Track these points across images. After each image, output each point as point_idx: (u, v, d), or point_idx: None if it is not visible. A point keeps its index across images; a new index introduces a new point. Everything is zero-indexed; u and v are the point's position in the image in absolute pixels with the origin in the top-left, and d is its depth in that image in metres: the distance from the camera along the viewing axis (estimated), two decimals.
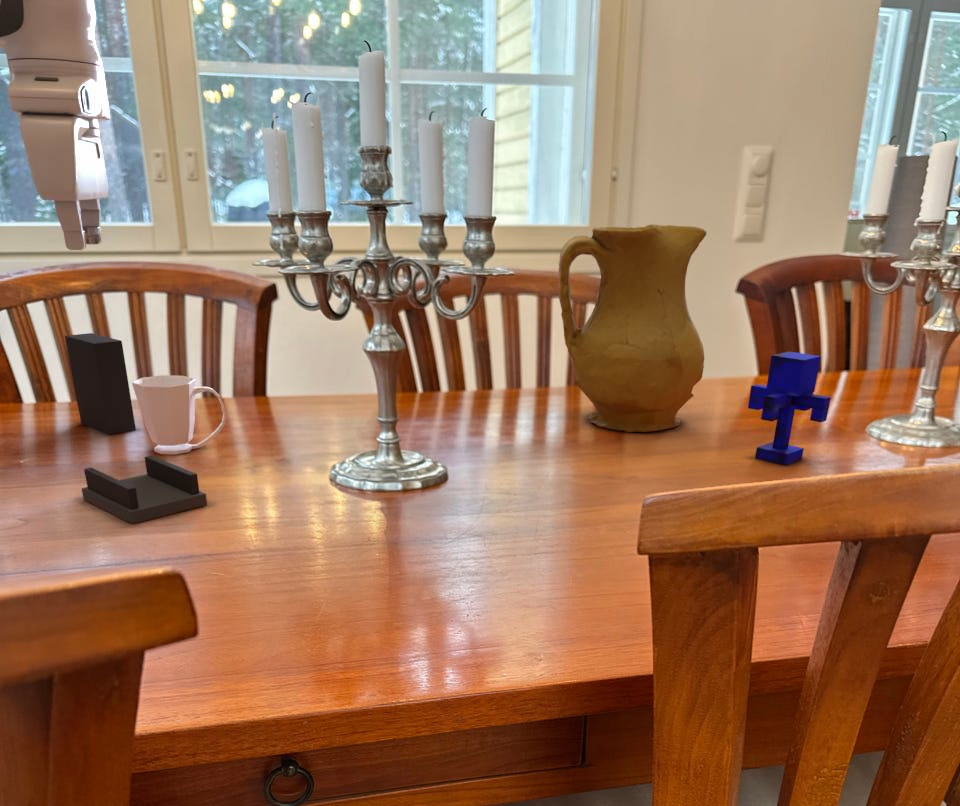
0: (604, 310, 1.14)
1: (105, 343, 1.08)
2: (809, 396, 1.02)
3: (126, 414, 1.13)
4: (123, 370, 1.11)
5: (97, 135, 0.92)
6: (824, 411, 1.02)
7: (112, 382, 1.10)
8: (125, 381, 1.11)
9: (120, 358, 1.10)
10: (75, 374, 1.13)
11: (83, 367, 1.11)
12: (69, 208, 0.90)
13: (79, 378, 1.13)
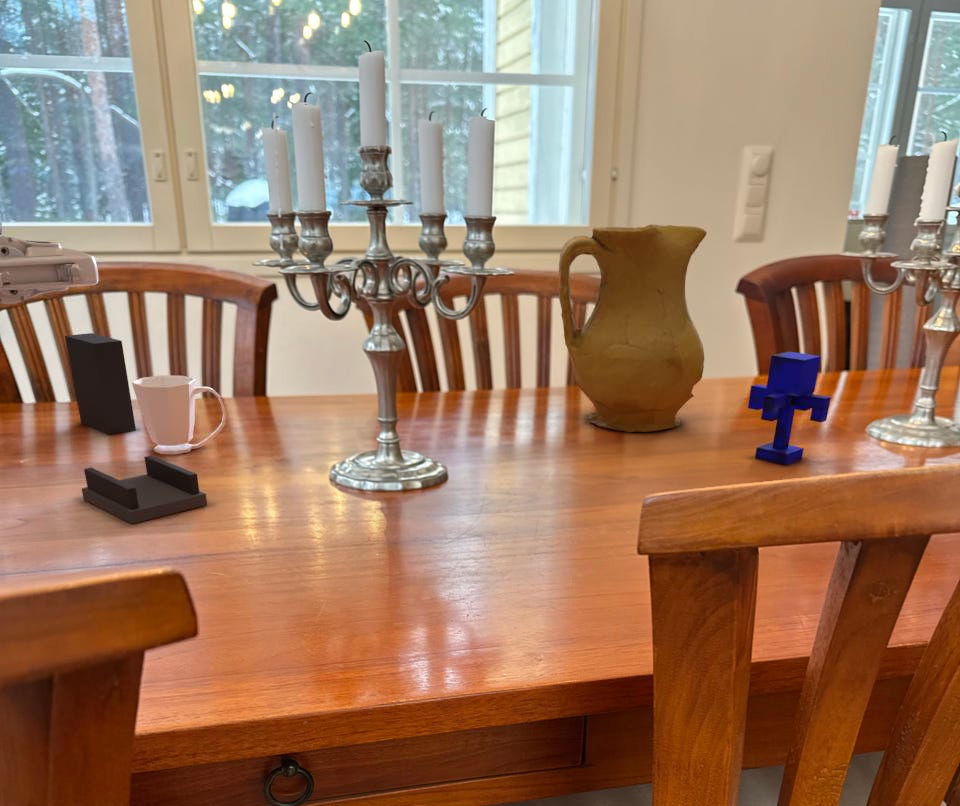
0: (604, 310, 1.14)
1: (105, 343, 1.08)
2: (809, 396, 1.02)
3: (126, 414, 1.13)
4: (123, 370, 1.11)
5: (19, 294, 1.24)
6: (824, 411, 1.02)
7: (112, 382, 1.10)
8: (125, 381, 1.11)
9: (120, 358, 1.10)
10: (75, 374, 1.13)
11: (83, 367, 1.11)
12: None
13: (79, 378, 1.13)
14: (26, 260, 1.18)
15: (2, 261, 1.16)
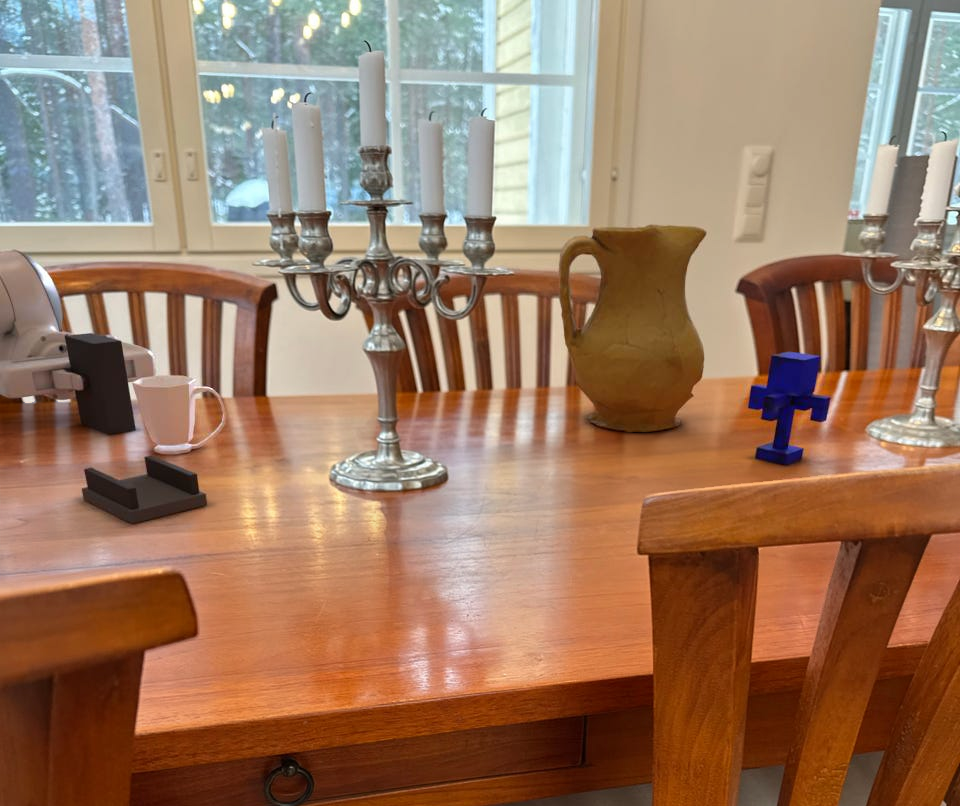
0: (604, 310, 1.14)
1: (105, 343, 1.08)
2: (809, 396, 1.02)
3: (126, 414, 1.13)
4: (123, 370, 1.11)
5: None
6: (824, 411, 1.02)
7: (111, 382, 1.10)
8: (125, 381, 1.11)
9: (120, 358, 1.10)
10: None
11: (83, 367, 1.11)
12: None
13: None
14: None
15: (62, 363, 1.13)
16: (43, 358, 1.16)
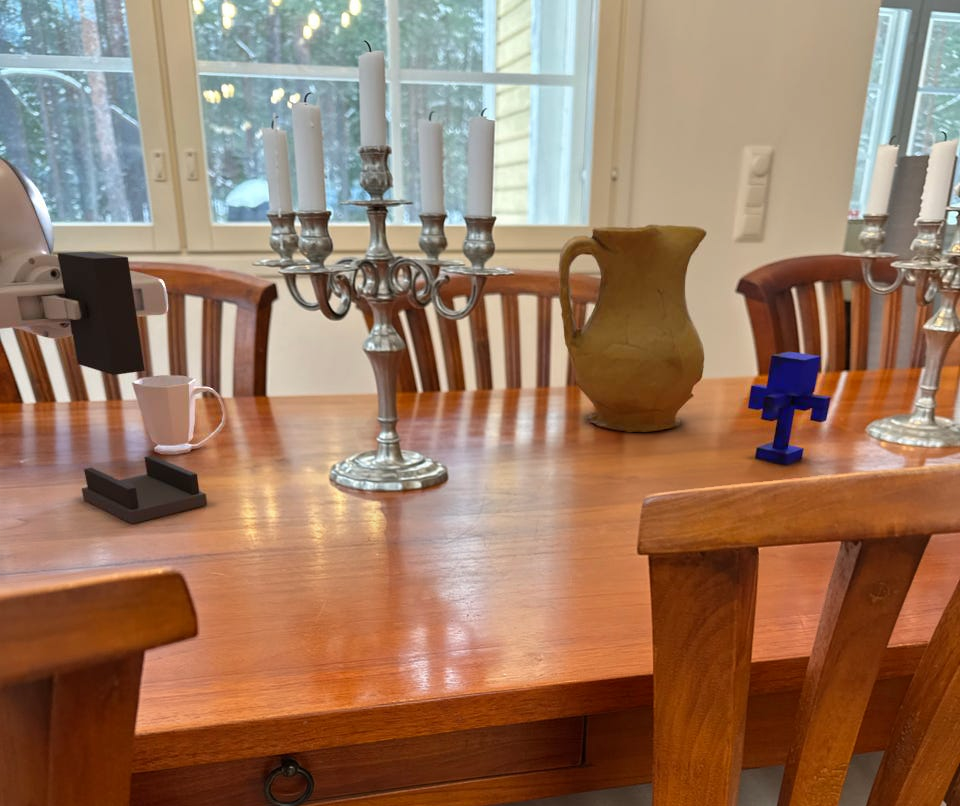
0: (604, 310, 1.14)
1: (108, 259, 0.87)
2: (809, 396, 1.02)
3: (133, 350, 0.92)
4: (130, 294, 0.90)
5: (70, 327, 1.00)
6: (824, 411, 1.02)
7: (116, 309, 0.89)
8: (132, 309, 0.90)
9: (126, 279, 0.89)
10: None
11: (80, 291, 0.90)
12: None
13: None
14: None
15: (55, 287, 0.92)
16: (31, 284, 0.95)
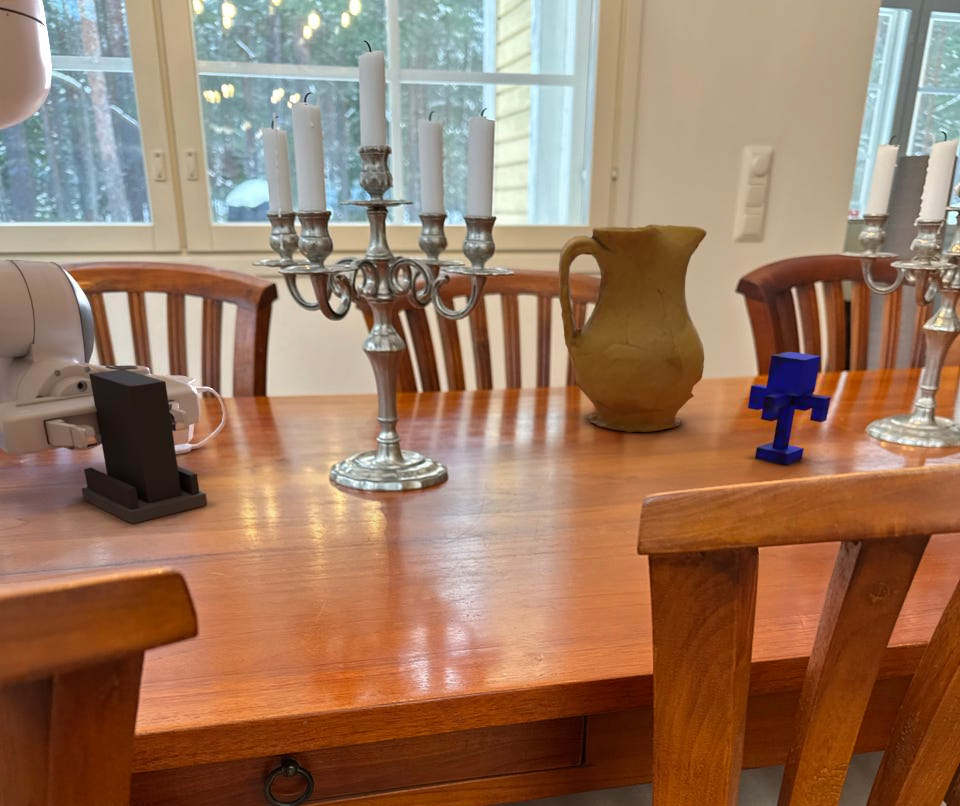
0: (604, 310, 1.14)
1: (144, 385, 0.81)
2: (809, 396, 1.02)
3: (170, 476, 0.86)
4: (167, 419, 0.84)
5: None
6: (824, 411, 1.02)
7: (152, 436, 0.83)
8: (169, 434, 0.85)
9: (163, 404, 0.83)
10: (102, 423, 0.87)
11: (114, 416, 0.84)
12: None
13: (108, 429, 0.86)
14: None
15: (83, 407, 0.86)
16: (57, 399, 0.89)
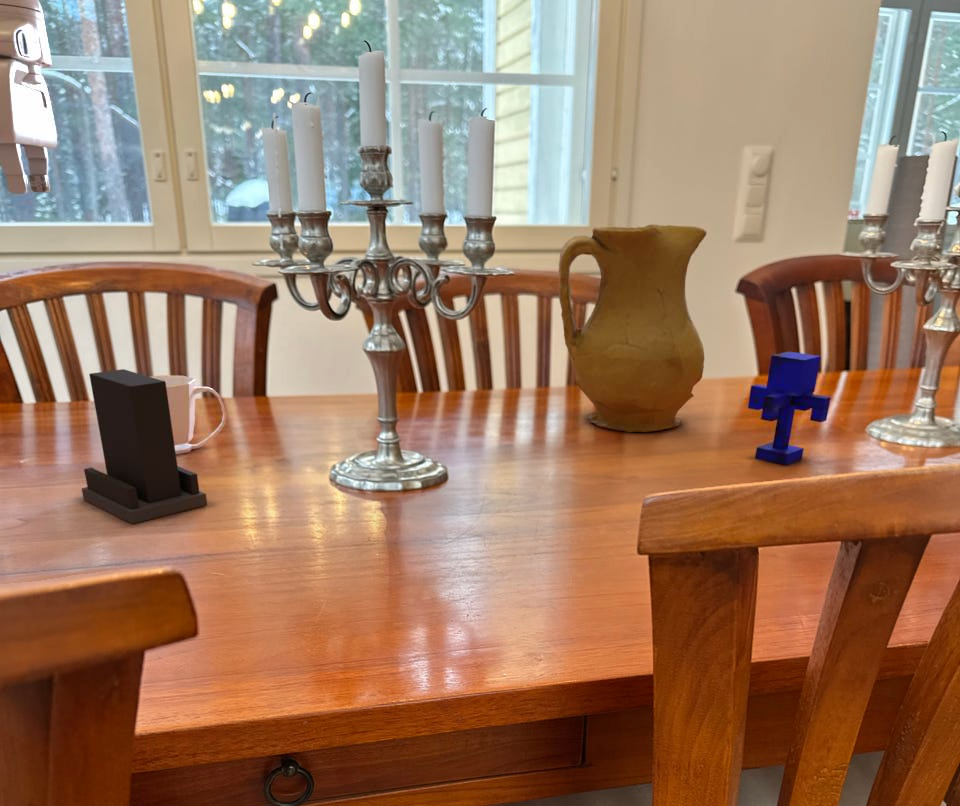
0: (604, 310, 1.14)
1: (144, 385, 0.81)
2: (809, 396, 1.02)
3: (170, 476, 0.86)
4: (167, 419, 0.84)
5: (38, 81, 0.94)
6: (824, 411, 1.02)
7: (152, 436, 0.83)
8: (169, 434, 0.85)
9: (163, 404, 0.83)
10: (102, 423, 0.87)
11: (114, 416, 0.84)
12: (9, 151, 0.92)
13: (108, 429, 0.86)
14: None
15: None
16: None
